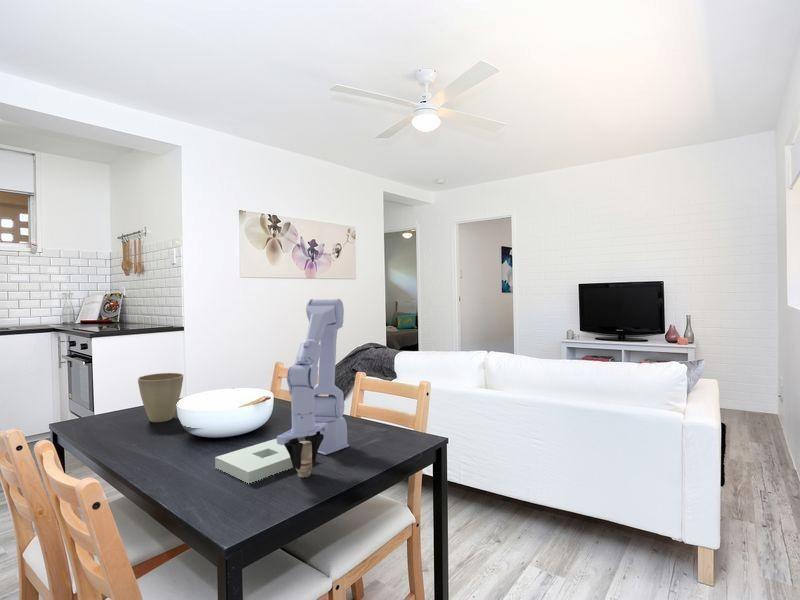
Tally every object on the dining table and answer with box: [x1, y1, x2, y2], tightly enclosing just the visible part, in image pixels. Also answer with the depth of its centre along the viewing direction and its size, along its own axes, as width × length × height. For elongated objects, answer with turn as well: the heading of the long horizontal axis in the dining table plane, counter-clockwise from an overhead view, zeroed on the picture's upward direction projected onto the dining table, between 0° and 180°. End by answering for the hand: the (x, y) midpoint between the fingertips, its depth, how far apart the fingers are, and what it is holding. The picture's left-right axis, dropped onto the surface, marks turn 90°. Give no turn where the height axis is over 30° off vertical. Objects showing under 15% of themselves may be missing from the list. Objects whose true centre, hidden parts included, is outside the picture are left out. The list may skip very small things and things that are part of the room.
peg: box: [295, 440, 313, 478], centre depth 115 cm, size 4×4×8 cm
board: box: [214, 438, 294, 485], centre depth 122 cm, size 20×16×3 cm
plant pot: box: [137, 372, 184, 423], centre depth 167 cm, size 15×15×16 cm
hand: (304, 465), depth 115 cm, fingers closed on peg, 4 cm apart
